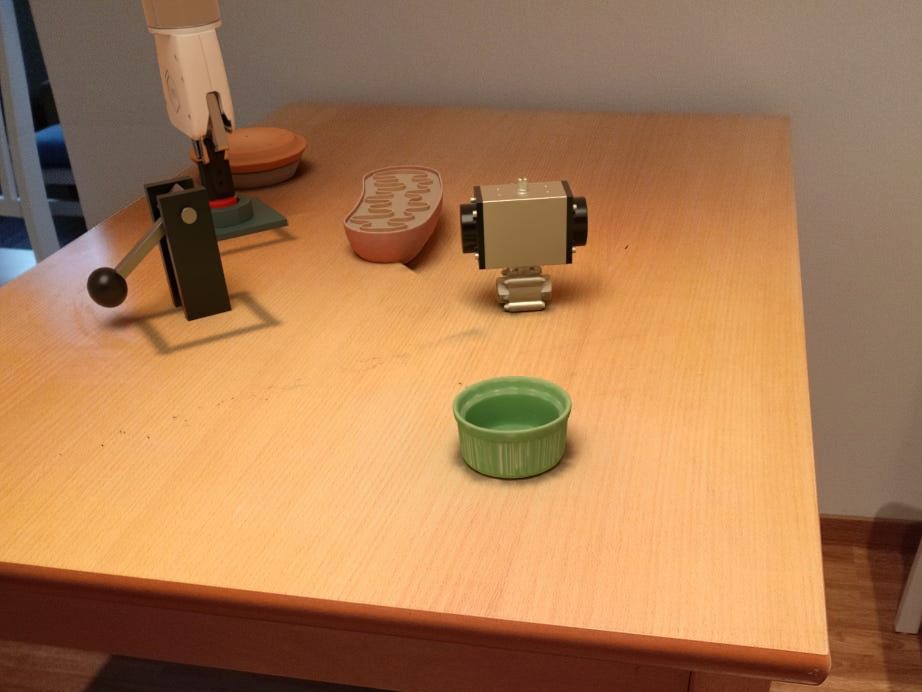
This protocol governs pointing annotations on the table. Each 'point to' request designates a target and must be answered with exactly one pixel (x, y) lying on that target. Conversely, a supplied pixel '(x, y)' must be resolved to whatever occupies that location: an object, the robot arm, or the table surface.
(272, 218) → the button box
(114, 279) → the lever
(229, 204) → the button
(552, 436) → the ramekin
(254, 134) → the pie
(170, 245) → the bracket
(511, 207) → the pneumatic valve
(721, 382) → the table surface
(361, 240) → the anatomical model
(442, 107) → the table surface
